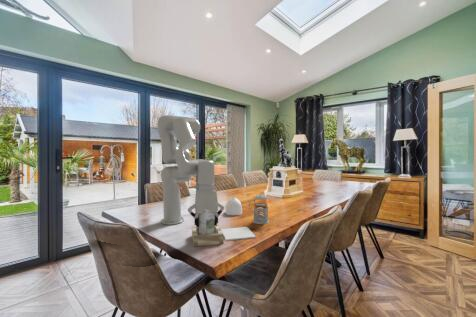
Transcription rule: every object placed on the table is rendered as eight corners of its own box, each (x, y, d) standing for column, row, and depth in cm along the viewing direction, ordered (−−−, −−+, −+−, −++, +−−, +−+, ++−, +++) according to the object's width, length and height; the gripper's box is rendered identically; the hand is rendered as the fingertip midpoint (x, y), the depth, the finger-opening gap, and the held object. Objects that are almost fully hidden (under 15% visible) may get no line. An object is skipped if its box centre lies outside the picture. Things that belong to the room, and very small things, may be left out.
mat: (220, 230, 119) (220, 229, 119) (247, 227, 123) (247, 226, 123) (226, 240, 106) (226, 239, 106) (255, 237, 109) (255, 236, 109)
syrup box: (206, 235, 112) (206, 204, 111) (215, 238, 108) (215, 207, 107) (197, 238, 107) (197, 207, 107) (206, 242, 104) (206, 209, 103)
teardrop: (244, 214, 147) (244, 195, 147) (227, 216, 145) (226, 196, 144) (240, 210, 158) (240, 192, 158) (223, 211, 156) (223, 193, 155)
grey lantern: (269, 224, 128) (268, 178, 127) (248, 223, 130) (247, 178, 129) (270, 219, 137) (270, 176, 136) (250, 218, 140) (250, 176, 139)
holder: (192, 235, 112) (191, 227, 112) (218, 233, 115) (218, 225, 115) (193, 246, 100) (193, 237, 99) (223, 243, 103) (223, 234, 103)
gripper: (186, 190, 101) (187, 230, 102) (226, 188, 105) (226, 226, 106) (186, 187, 108) (186, 224, 109) (223, 185, 112) (223, 221, 113)
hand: (206, 225), depth 107 cm, fingers closed on syrup box, 8 cm apart
